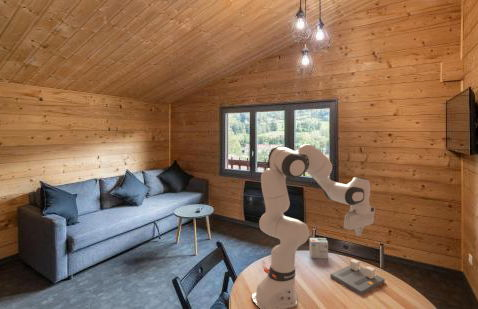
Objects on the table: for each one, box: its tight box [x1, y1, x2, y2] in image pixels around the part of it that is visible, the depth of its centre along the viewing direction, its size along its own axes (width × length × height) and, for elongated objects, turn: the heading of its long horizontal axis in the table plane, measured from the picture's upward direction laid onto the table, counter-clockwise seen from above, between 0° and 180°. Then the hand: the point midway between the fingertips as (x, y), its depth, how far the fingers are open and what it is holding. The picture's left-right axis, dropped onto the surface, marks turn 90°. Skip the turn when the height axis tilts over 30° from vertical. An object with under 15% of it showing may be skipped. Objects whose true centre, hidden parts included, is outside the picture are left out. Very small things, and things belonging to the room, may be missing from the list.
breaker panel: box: [329, 265, 386, 296], centre depth 135 cm, size 20×18×2 cm
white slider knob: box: [349, 258, 360, 271], centre depth 142 cm, size 3×4×4 cm
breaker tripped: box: [364, 265, 376, 279], centre depth 134 cm, size 3×4×4 cm
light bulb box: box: [308, 237, 329, 259], centre depth 161 cm, size 11×7×11 cm, turn 84°
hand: (358, 235), depth 131 cm, fingers closed
